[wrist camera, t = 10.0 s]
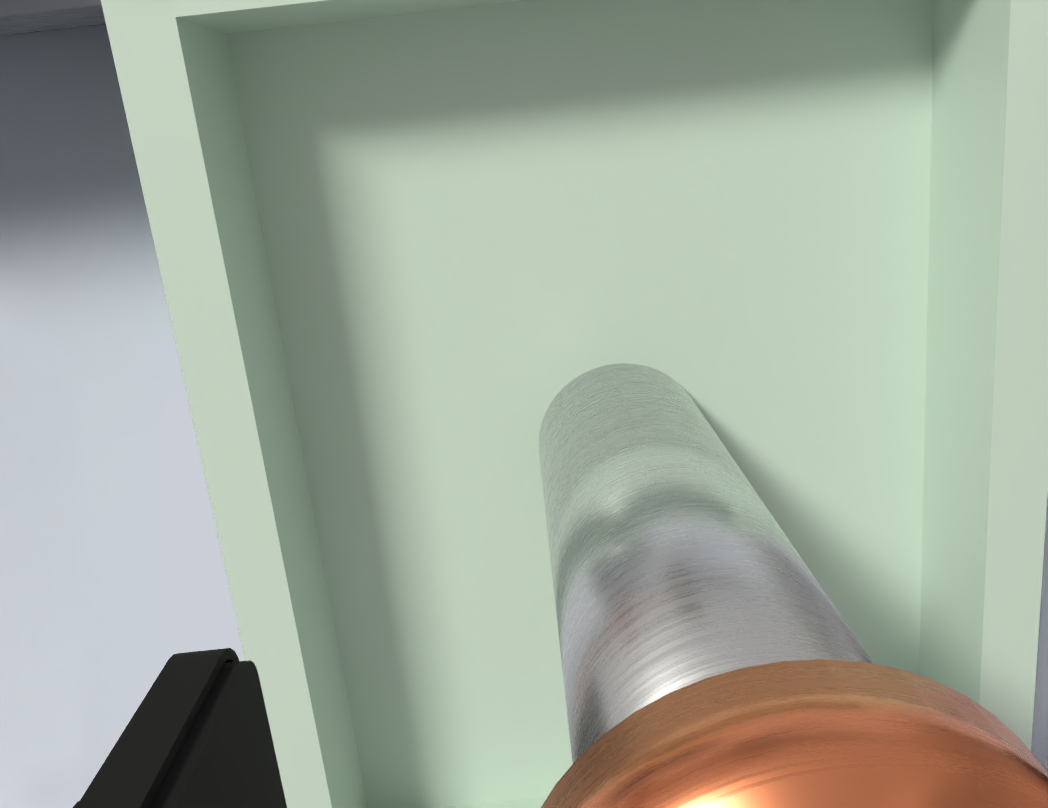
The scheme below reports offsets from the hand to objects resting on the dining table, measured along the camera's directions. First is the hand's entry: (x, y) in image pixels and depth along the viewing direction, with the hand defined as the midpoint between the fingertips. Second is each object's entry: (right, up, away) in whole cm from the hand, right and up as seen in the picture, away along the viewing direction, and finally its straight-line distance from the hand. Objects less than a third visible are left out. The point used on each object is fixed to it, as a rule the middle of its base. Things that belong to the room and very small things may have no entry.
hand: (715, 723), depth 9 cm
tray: (0, +3, +9) cm, 10 cm away
